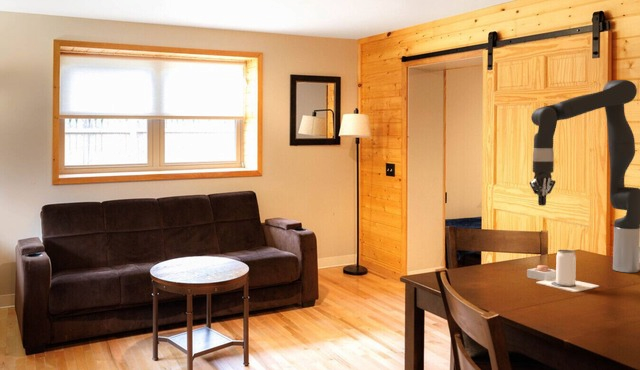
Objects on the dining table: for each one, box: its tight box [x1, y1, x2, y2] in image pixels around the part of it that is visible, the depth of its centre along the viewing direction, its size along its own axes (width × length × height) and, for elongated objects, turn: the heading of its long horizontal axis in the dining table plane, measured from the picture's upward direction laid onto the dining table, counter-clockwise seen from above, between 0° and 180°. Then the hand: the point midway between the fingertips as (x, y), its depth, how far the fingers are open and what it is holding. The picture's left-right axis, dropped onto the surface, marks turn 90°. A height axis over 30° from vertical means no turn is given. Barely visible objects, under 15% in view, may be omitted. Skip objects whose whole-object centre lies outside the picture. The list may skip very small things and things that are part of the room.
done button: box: [536, 264, 550, 272], centre depth 232 cm, size 4×4×4 cm
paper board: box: [535, 278, 600, 293], centre depth 221 cm, size 14×16×1 cm
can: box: [555, 249, 577, 286], centre depth 220 cm, size 6×6×12 cm
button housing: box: [526, 267, 556, 281], centre depth 232 cm, size 8×8×3 cm
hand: (542, 205), depth 236 cm, fingers closed
